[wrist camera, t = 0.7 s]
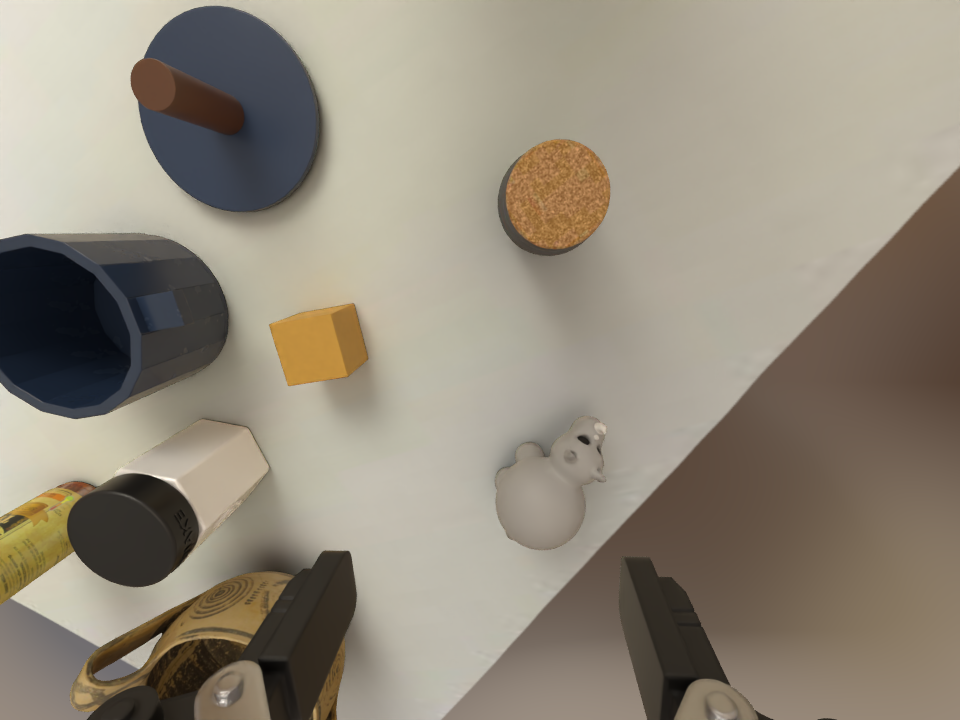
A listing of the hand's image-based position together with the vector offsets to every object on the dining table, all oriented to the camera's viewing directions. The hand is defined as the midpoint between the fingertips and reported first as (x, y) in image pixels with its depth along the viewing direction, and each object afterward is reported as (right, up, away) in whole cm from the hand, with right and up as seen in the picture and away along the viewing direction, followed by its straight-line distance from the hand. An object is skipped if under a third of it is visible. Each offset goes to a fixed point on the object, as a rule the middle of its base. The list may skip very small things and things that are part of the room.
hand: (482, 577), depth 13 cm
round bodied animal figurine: (+7, -2, +27) cm, 28 cm away
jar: (-25, -3, +30) cm, 39 cm away
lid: (-19, +25, +21) cm, 37 cm away
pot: (-28, +11, +26) cm, 40 cm away
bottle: (+5, +18, +22) cm, 28 cm away
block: (-13, +8, +25) cm, 30 cm away
